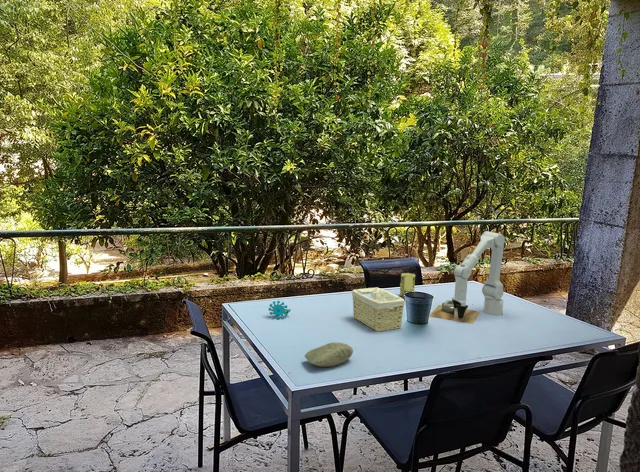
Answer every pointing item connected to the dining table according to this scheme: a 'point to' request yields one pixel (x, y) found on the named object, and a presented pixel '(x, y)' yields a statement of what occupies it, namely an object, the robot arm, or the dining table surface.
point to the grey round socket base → (448, 307)
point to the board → (467, 318)
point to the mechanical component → (407, 283)
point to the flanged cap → (456, 313)
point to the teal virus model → (279, 310)
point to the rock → (329, 354)
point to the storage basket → (378, 308)
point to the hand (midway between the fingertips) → (458, 315)
